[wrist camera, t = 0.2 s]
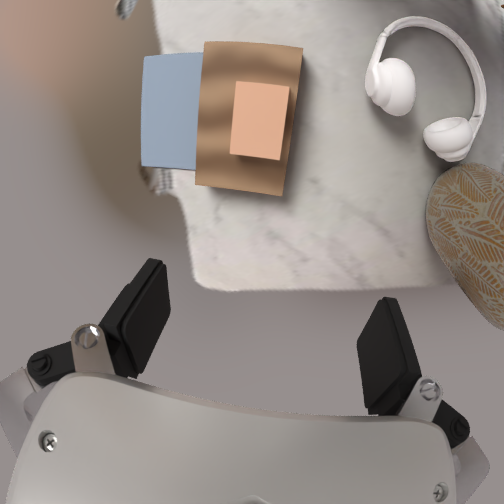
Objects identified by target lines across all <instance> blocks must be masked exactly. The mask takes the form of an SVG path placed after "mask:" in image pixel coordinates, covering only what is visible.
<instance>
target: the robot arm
mask: <svg viewBox="0 0 504 504" xmlns="http://www.w3.org/2000/svg"><path fill="white" fill-rule="evenodd" d="M170 310H171V308H170V299H169V290H168V280H167V270H166V265H165V264H163V262H162V261H161V260H157V259H152V258H149V259H148V260H147V261H146V263H145V264H144V265H143V267H142V268H141V269H140V271H139V272H138V273H137V275H136V276H135V277H134V279H133V280H132V282H131V283H130V284H127V285H126V286H125V287H124V289H123V290H122V291H121V293H120V294H119V296H118V297H117V298H116V300H115V301H114V303H113V304H112V306H111V307H110V308H109V310H108V311H107V313H106V314H105V316H104V317H103V319H102V320H101V322H100V324H99V325H95V324H84V325H81V326H79V327H78V328H77V329H76V330H75V331H74V332H73V334H72V336H71V341H69V342H66V343H63V344H60V345H57V346H54V347H51V348H48V349H45V350H42V351H39V352H37V353H34V354H33V355H32V356H31V357H30V359H29V361H28V363H27V367H26V368H25V369H24V368H23V367H21V368H20V369H18V370H17V371H15V372H14V373H12V374H11V375H9V376H8V377H7V378H5V379H4V380H2V381H1V382H0V423H1V426H2V428H3V430H4V432H5V434H6V437H7V439H8V441H9V443H10V445H11V447H12V449H13V451H14V453H15V454H16V456H17V458H18V459H17V462H16V465H15V469H14V472H13V475H12V478H11V482H10V486H9V490H8V494H7V500H6V504H464V503H465V502H466V501H467V500H468V499H469V498H470V496H471V495H472V494H473V493H474V492H475V490H476V489H477V488H478V487H479V485H480V484H481V483H482V481H483V480H484V479H485V478H486V476H487V475H488V473H489V469H490V465H489V461H488V459H487V457H486V456H485V454H484V453H483V451H482V450H481V448H480V447H479V445H478V444H477V442H476V441H475V439H474V438H473V436H472V437H469V433H470V427H469V423H468V422H467V420H466V419H465V418H464V417H463V416H462V415H461V414H460V413H458V412H457V411H456V410H455V409H453V408H452V407H451V406H450V405H448V404H447V403H446V402H445V401H443V400H442V396H443V389H442V387H441V385H440V383H439V382H438V381H437V380H436V379H435V378H433V377H430V376H423V377H422V374H421V370H420V366H419V363H418V359H417V356H416V353H415V350H414V346H413V343H412V340H411V337H410V334H409V331H408V329H407V326H406V323H405V320H404V317H403V315H402V312H401V309H400V307H399V304H398V301H397V299H395V298H389V297H383V299H382V300H379V301H378V303H377V305H376V306H375V309H374V310H373V312H372V314H371V316H370V318H369V320H368V322H367V324H366V325H365V327H364V329H363V331H362V333H361V335H360V336H359V338H358V340H357V351H358V358H359V363H360V371H361V378H362V386H363V394H364V403H365V407H366V408H368V414H369V415H373V414H379V416H328V415H310V414H298V413H287V412H277V411H269V410H262V409H255V408H248V407H242V406H236V405H230V404H226V403H220V402H215V401H210V400H206V399H201V398H197V397H192V396H189V395H184V394H181V393H177V392H173V391H169V390H166V389H162V388H158V387H155V386H151V385H148V384H144V383H141V382H138V381H135V380H131V379H128V378H127V377H128V376H129V377H132V378H135V379H137V376H138V374H139V373H140V374H141V373H143V371H144V369H145V367H146V365H147V362H148V360H149V358H150V356H151V353H152V352H153V349H154V347H155V345H156V343H157V341H158V339H159V336H160V335H161V332H162V330H163V328H164V326H165V324H166V322H167V320H168V318H169V315H170Z"/></svg>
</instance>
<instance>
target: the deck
mask: <svg viewBox="0 0 504 504" xmlns="http://www.w3.org/2000/svg"><path fill="white" fill-rule="evenodd" d="M302 54H303V48H298V47H291V46H283V45H274V44H264V43H250V42H205V43H204V52H203V62H202V72H201V83H200V95H199V109H198V125H197V145H196V172H195V185H202V186H210V187H219V188H227V189H235V190H242V191H250V192H257V193H263V194H270V195H277V196H282V194H283V187H284V181H285V175H286V168H287V161H288V155H289V148H290V141H291V135H292V128H293V121H294V114H295V107H296V99H297V92H298V85H299V77H300V69H301V62H302ZM236 81H241V82H254V83H264V84H273V85H281V86H288V87H290V89H289V96H288V104H287V111H286V119H285V126H284V133H283V140H282V148H281V155H280V160H274V159H268V158H260V157H253V156H244V155H236V154H230V142H231V130H232V119H233V109H234V98H235V88H236Z"/></svg>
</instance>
